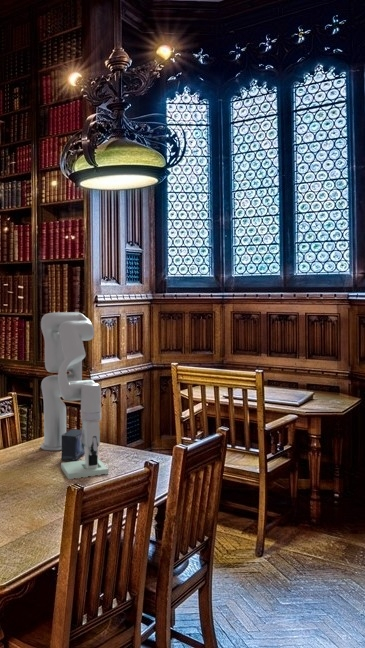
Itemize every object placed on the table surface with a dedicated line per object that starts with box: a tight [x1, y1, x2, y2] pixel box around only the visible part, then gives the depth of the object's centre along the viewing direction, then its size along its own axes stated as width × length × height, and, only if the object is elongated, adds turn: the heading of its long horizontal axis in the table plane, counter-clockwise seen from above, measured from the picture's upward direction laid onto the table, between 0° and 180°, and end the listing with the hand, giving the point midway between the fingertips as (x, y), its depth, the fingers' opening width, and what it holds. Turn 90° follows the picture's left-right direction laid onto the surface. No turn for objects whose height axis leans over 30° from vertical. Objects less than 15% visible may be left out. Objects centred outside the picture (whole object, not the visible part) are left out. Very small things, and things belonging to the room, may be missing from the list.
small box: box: [60, 428, 85, 462], centre depth 229 cm, size 11×6×10 cm, turn 168°
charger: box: [84, 445, 99, 469], centre depth 211 cm, size 4×4×10 cm
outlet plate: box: [60, 457, 110, 480], centre depth 211 cm, size 14×15×2 cm
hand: (91, 462), depth 211 cm, fingers closed on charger, 4 cm apart
